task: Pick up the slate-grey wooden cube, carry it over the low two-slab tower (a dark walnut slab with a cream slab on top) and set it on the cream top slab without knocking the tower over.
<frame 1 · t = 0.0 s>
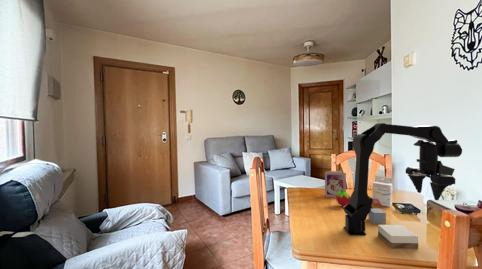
hand: (427, 196, 92), 15 cm above the table, tool pointing down, fingers open, 9 cm apart
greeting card: (335, 196, 140), on the table
ink cartridge box: (382, 204, 125), on the table
tower top: (396, 236, 86), point 2 cm above the table
strawberry: (343, 207, 122), on the table
tower bottom: (396, 243, 86), on the table
slate cube: (376, 221, 104), on the table
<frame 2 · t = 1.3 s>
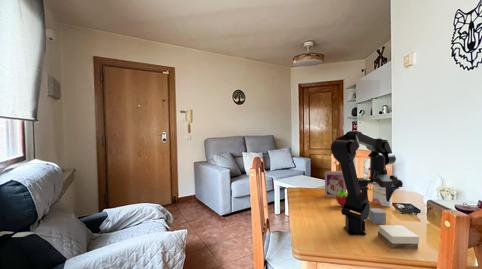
hand: (377, 201, 103), 9 cm above the table, tool pointing down, fingers open, 9 cm apart
tower top: (397, 237, 86), point 2 cm above the table, touching tower bottom
tower bottom: (396, 243, 86), on the table, touching tower top
everything else where it was.
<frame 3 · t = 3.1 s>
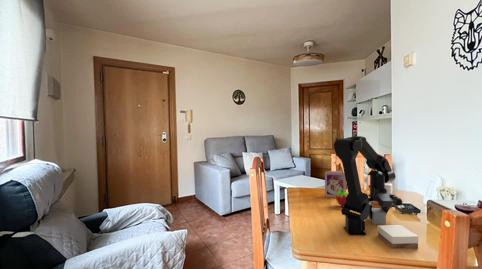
hand: (376, 219, 104), 1 cm above the table, tool pointing down, fingers closed on slate cube, 5 cm apart
tower top: (396, 237, 86), point 2 cm above the table
tower bottom: (396, 243, 86), on the table
slate cube: (376, 221, 104), on the table, touching gripper
everything else where it was.
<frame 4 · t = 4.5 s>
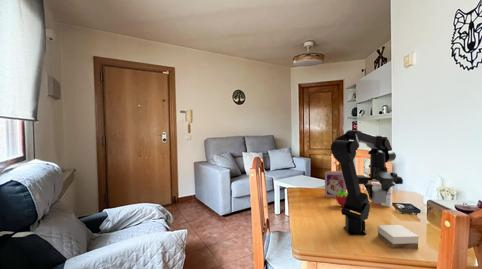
hand: (377, 198, 103), 10 cm above the table, tool pointing down, fingers closed on slate cube, 5 cm apart
tower top: (396, 237, 86), point 2 cm above the table, touching tower bottom
tower bottom: (396, 243, 86), on the table, touching tower top
slate cube: (377, 200, 103), point 9 cm above the table, touching gripper
everything else where it was.
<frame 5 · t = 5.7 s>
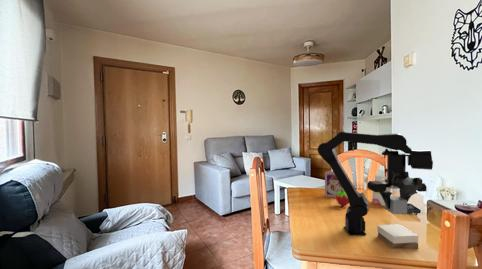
hand: (395, 208, 87), 12 cm above the table, tool pointing down, fingers closed on slate cube, 5 cm apart
tower top: (396, 236, 86), point 2 cm above the table
tower bottom: (396, 243, 86), on the table
slate cube: (395, 211, 87), point 11 cm above the table, touching gripper
everything else where it was.
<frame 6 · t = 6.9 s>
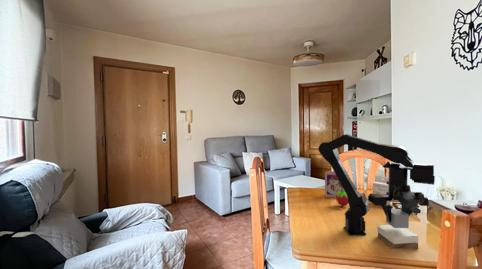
hand: (397, 222, 86), 7 cm above the table, tool pointing down, fingers closed on slate cube, 5 cm apart
tower top: (396, 236, 86), point 2 cm above the table, touching tower bottom
tower bottom: (396, 243, 86), on the table, touching tower top
slate cube: (397, 224, 86), point 6 cm above the table, touching gripper
everything else where it was.
when the fingers open (7 cm above the table, at t = 8.1 s): slate cube drops 2 cm, point 4 cm above the table.
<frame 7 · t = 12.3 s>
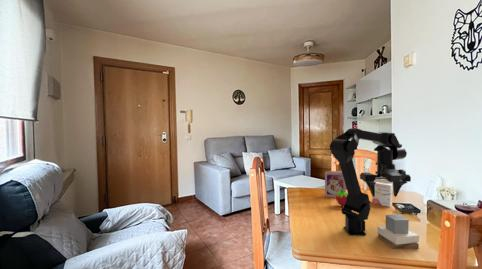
hand: (384, 196, 101), 12 cm above the table, tool pointing down, fingers open, 9 cm apart
slate cube: (396, 230, 86), point 4 cm above the table
everything else where it was.
at the end: slate cube 0.1 cm off-centre on the tower top, point 2.5 cm above the tower top's base; slate cube tilted 0°; tower top moved 0.7 cm from its start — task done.
